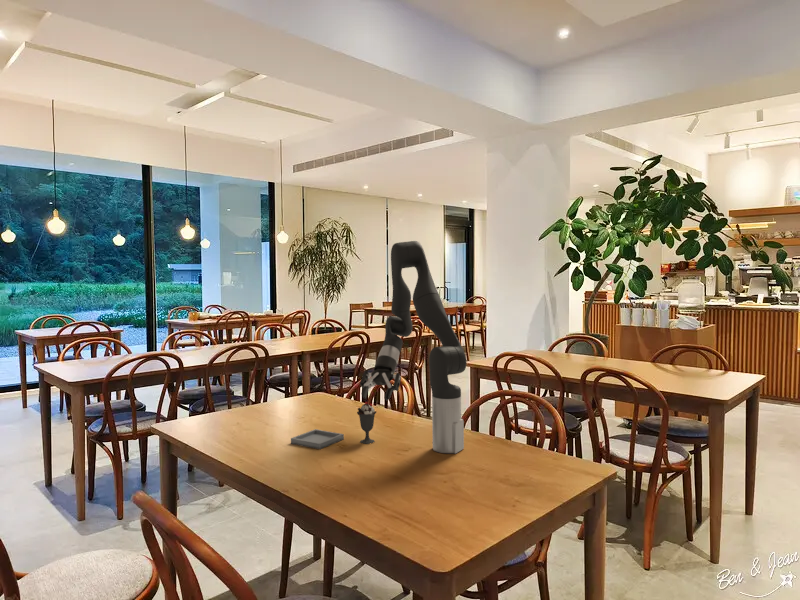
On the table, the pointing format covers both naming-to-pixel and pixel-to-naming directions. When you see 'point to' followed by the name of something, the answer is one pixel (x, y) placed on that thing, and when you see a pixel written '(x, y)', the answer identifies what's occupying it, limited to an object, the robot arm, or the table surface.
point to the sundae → (366, 420)
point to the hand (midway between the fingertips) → (374, 398)
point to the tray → (317, 439)
